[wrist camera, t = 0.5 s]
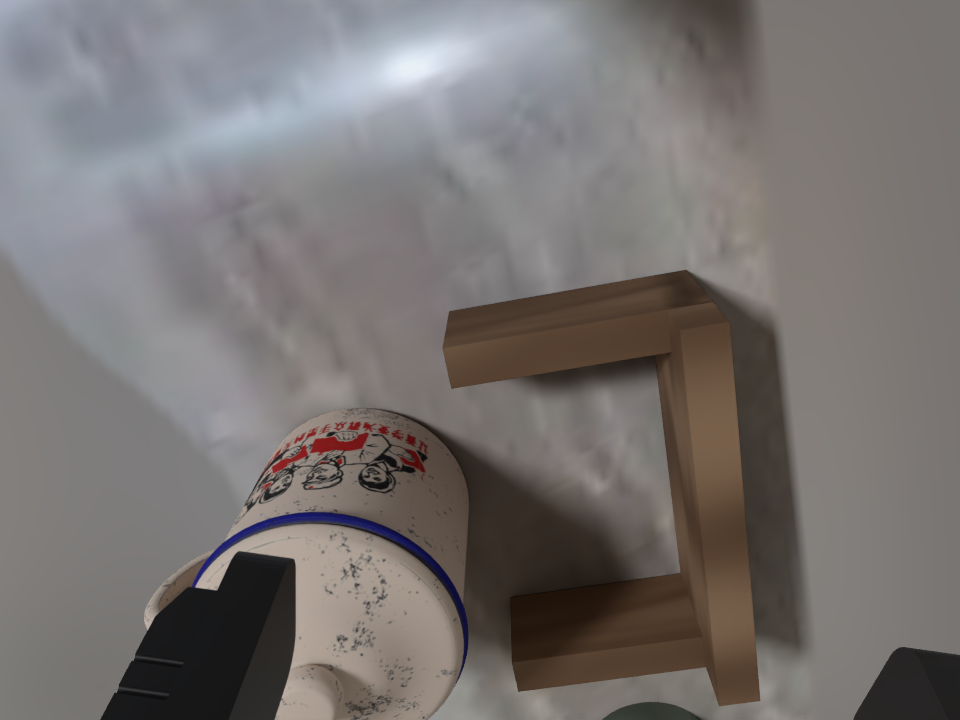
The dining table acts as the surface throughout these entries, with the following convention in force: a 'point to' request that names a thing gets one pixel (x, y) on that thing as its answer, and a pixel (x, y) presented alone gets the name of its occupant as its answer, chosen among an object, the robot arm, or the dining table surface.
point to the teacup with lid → (358, 565)
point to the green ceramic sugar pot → (651, 712)
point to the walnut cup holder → (692, 471)
